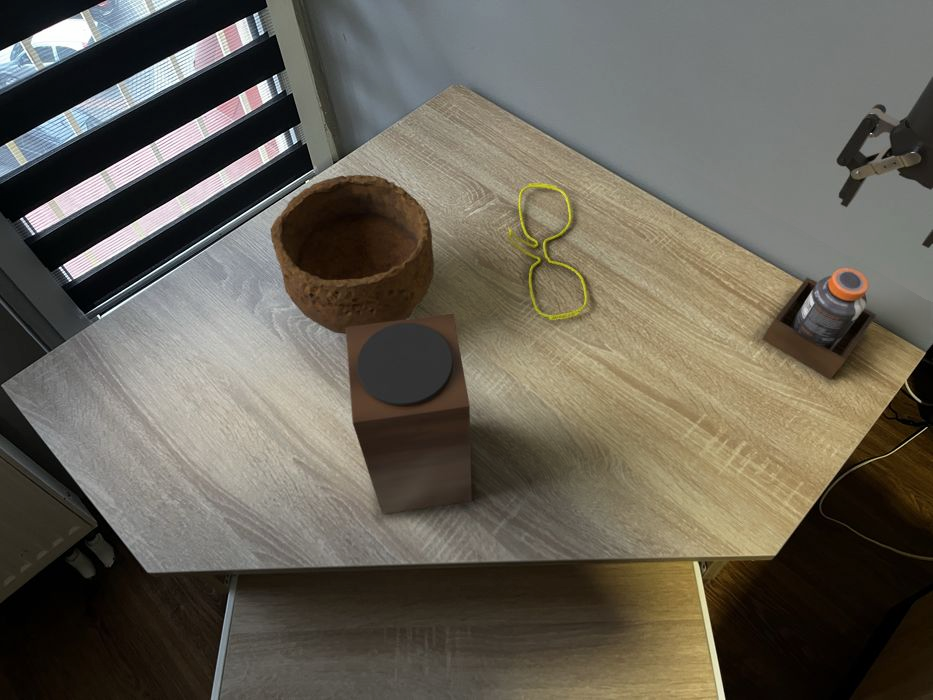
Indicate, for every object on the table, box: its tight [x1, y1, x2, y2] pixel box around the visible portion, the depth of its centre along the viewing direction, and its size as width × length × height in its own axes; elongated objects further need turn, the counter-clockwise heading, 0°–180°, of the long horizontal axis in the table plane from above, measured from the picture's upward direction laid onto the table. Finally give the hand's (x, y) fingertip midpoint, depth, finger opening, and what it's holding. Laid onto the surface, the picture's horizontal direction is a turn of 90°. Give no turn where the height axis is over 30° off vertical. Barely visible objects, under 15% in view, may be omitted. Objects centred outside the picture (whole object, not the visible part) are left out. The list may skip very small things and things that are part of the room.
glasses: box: [507, 182, 588, 321], centre depth 96 cm, size 25×10×5 cm, turn 3°
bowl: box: [270, 174, 435, 335], centre depth 87 cm, size 19×19×15 cm
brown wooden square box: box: [762, 277, 877, 380], centre depth 88 cm, size 9×9×4 cm
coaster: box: [357, 323, 453, 406], centre depth 61 cm, size 8×8×1 cm
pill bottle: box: [789, 267, 870, 352], centre depth 84 cm, size 6×6×11 cm
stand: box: [345, 312, 473, 515], centre depth 71 cm, size 10×10×22 cm
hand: (886, 221), depth 71 cm, fingers open, 8 cm apart
